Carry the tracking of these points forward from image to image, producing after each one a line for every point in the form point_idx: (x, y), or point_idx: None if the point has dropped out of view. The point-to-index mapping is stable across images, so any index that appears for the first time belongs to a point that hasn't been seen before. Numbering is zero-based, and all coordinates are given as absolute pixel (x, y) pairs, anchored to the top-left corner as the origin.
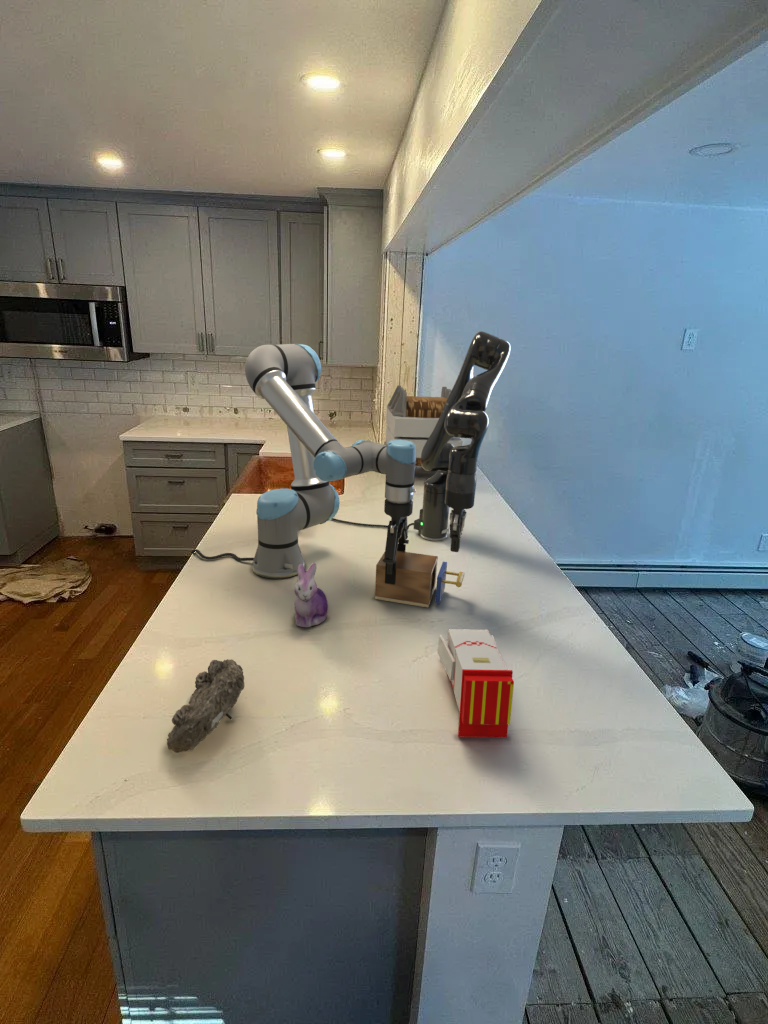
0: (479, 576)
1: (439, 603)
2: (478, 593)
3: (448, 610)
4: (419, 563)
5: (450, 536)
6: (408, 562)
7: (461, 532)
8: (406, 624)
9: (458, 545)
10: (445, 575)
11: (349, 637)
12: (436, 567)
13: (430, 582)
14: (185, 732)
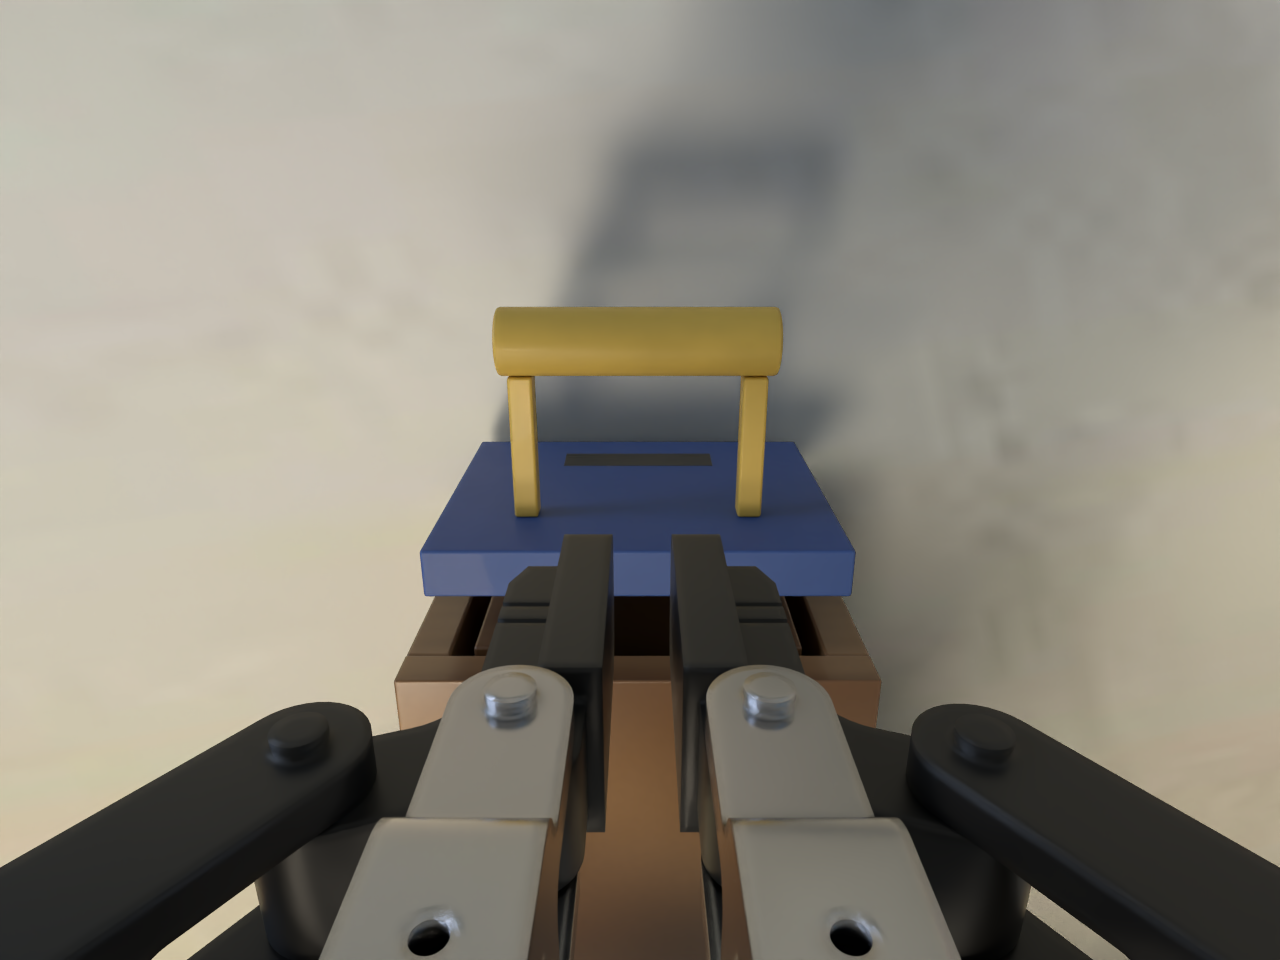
0: (29, 150)
1: (794, 444)
2: (402, 124)
3: (806, 354)
4: (669, 818)
5: (1046, 957)
6: (682, 908)
7: (532, 731)
8: (1075, 605)
9: (732, 599)
10: (500, 493)
11: (1265, 856)
12: (462, 614)
13: (842, 617)
14: None
